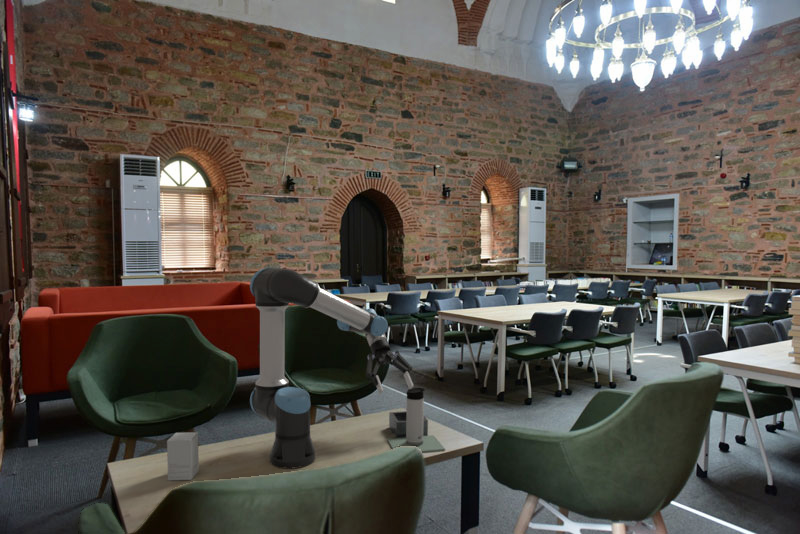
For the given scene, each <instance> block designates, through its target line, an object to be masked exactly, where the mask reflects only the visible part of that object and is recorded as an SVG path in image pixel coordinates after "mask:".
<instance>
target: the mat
mask: <svg viewBox="0 0 800 534" xmlns="http://www.w3.org/2000/svg"><path fill="white" fill-rule="evenodd" d="M387 442H388V444H389V446H390V448H391V450H393V448H396V447H400V446H414V445H409V444H407V443H406V437H404V438H396V437H395V438H387ZM398 445H399V446H398ZM416 447H418V448H419V449H421V451H422V452H423V453H432V452H433V451H435V452H441V451H440V450H445V451H446V448H445V447H444V445H442V443H441V442H440V440H438V439H437V437H436V436H435V435H433V434H432V435H428V436H423V444H421V445H416Z"/></svg>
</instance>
